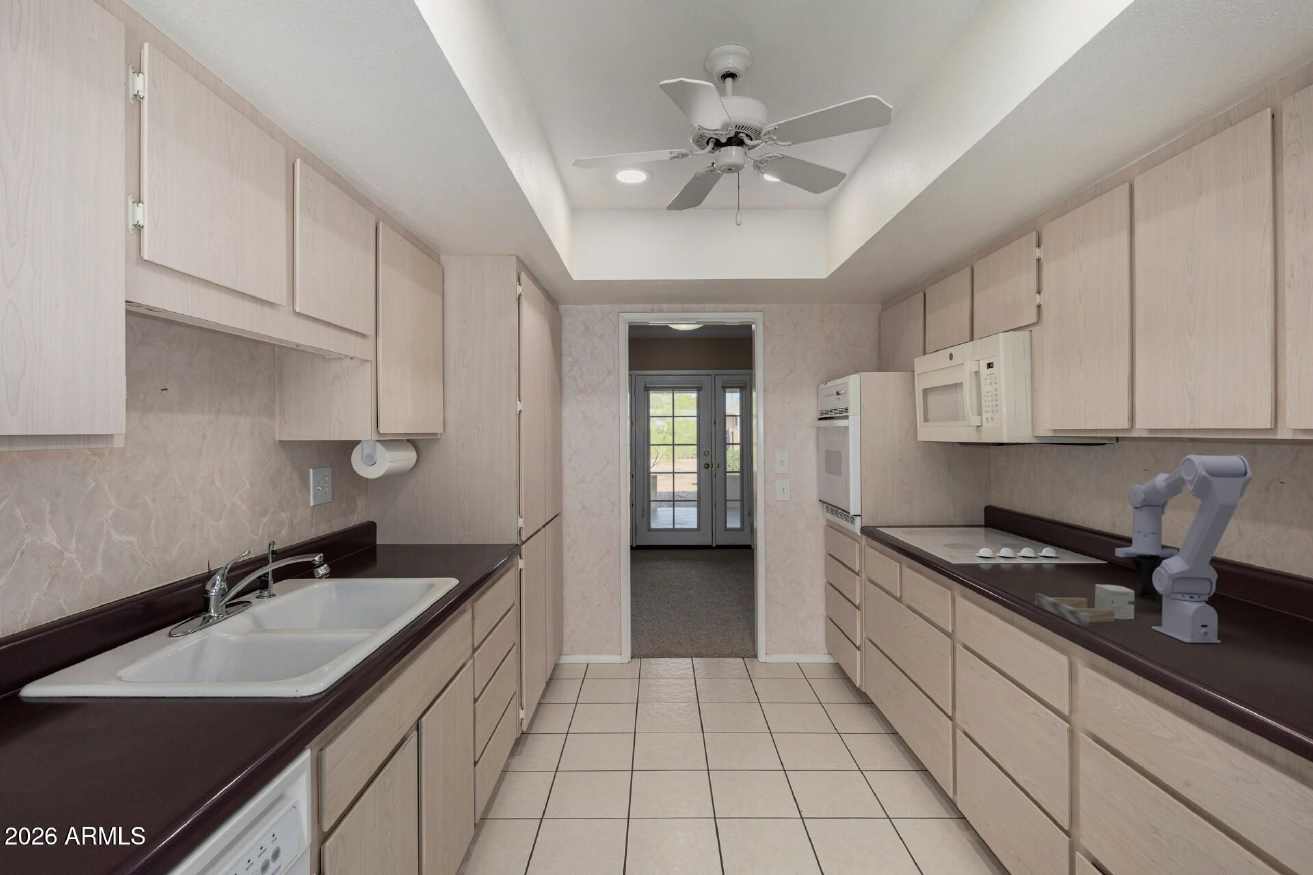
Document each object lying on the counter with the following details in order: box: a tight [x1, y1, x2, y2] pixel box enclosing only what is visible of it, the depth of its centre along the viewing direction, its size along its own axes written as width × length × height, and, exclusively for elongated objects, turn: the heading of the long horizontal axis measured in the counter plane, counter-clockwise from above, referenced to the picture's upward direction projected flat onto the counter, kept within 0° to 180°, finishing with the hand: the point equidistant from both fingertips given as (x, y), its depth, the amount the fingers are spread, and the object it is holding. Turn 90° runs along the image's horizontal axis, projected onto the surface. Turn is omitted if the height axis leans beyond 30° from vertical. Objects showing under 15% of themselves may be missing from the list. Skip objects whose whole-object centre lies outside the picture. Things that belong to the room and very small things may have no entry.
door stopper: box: [1133, 557, 1170, 605], centre depth 163 cm, size 9×6×12 cm, turn 9°
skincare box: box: [1094, 583, 1135, 620], centre depth 149 cm, size 6×6×7 cm
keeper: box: [1034, 592, 1115, 628], centre depth 150 cm, size 18×11×3 cm, turn 179°
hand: (1145, 584), depth 149 cm, fingers closed
